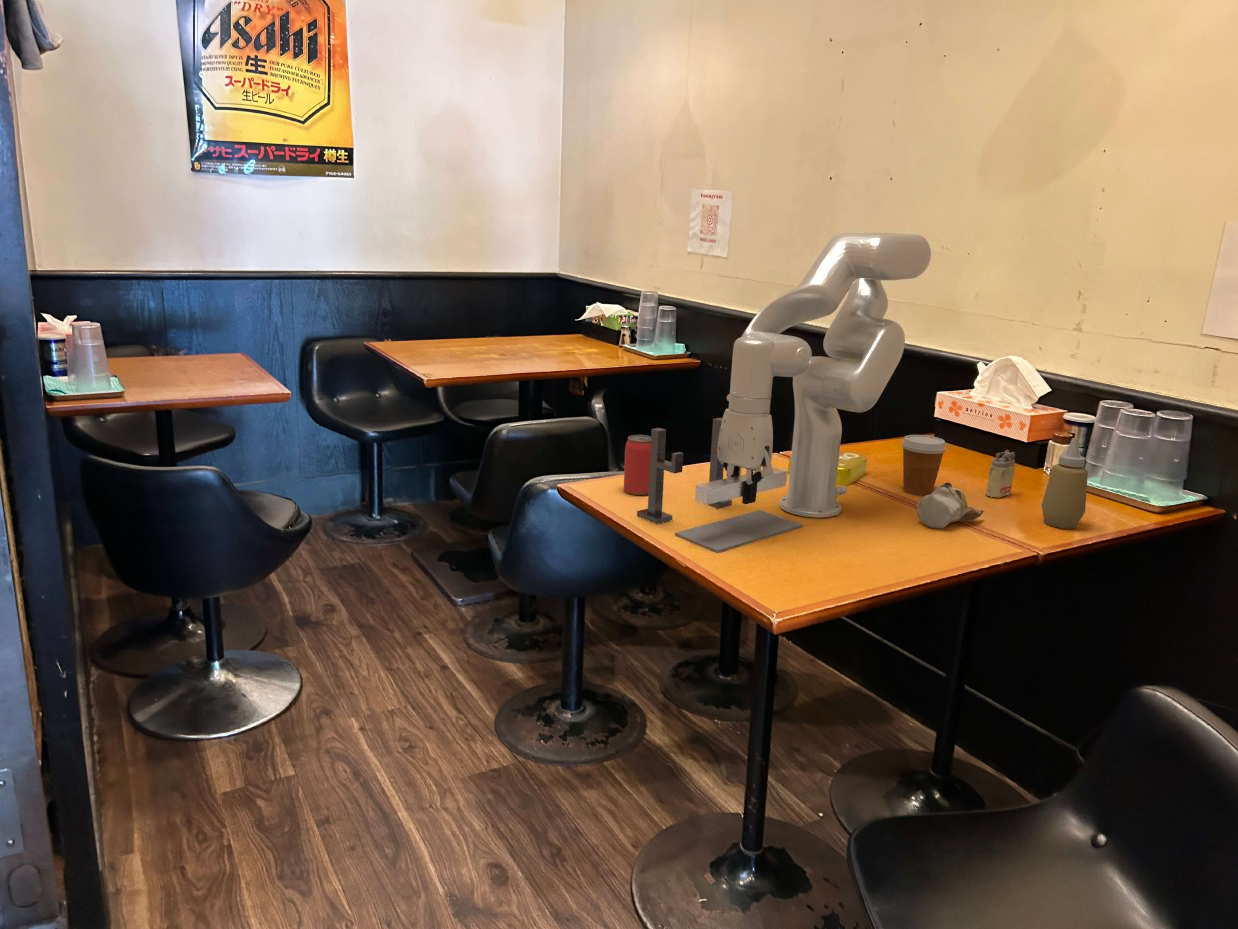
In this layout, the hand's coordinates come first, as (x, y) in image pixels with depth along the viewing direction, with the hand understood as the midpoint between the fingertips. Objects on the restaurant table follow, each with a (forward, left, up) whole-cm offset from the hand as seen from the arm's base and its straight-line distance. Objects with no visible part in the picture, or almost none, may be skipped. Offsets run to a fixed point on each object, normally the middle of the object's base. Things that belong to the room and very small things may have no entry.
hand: (741, 499), depth 168 cm
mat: (0, 0, -6) cm, 6 cm away
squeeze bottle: (-58, +35, -7) cm, 68 cm away
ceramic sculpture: (-39, +20, -7) cm, 44 cm away
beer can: (-1, -30, -7) cm, 31 cm away
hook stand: (0, -13, -6) cm, 15 cm away
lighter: (-67, +17, -7) cm, 69 cm away
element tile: (-48, -16, -7) cm, 51 cm away
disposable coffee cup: (-54, +5, -7) cm, 54 cm away
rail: (0, 0, +1) cm, 1 cm away
